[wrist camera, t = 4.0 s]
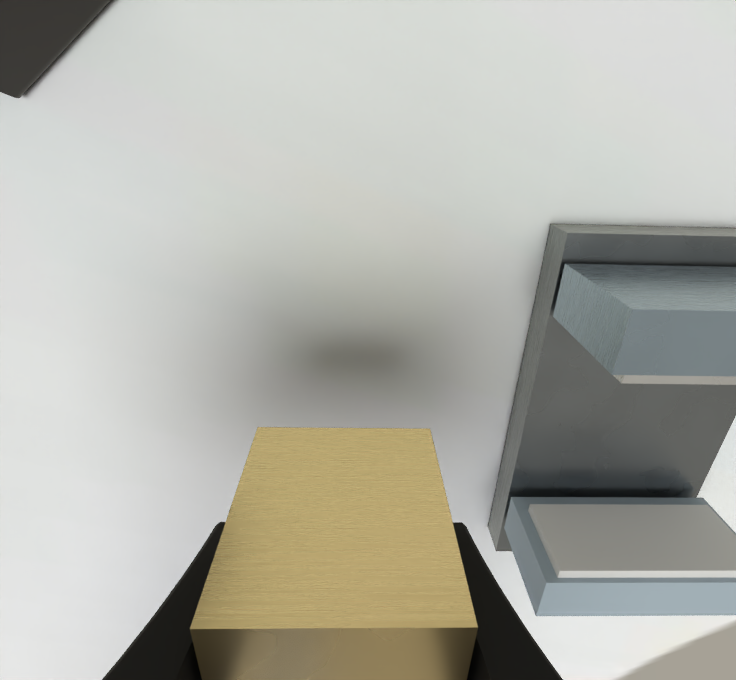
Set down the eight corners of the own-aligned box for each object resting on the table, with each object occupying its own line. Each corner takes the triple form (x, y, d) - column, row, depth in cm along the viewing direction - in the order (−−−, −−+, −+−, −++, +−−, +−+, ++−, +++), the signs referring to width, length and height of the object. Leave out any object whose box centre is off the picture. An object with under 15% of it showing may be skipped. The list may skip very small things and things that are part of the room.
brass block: (418, 538, 13) (450, 755, 8) (269, 538, 13) (221, 758, 8) (429, 428, 11) (477, 627, 7) (257, 427, 11) (189, 629, 7)
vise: (652, 526, 24) (738, 644, 18) (488, 526, 24) (526, 646, 18) (783, 229, 17) (985, 279, 11) (550, 223, 16) (644, 272, 11)
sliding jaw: (687, 528, 21) (758, 614, 18) (504, 527, 21) (536, 616, 17) (706, 491, 20) (785, 575, 16) (512, 490, 20) (548, 575, 16)
